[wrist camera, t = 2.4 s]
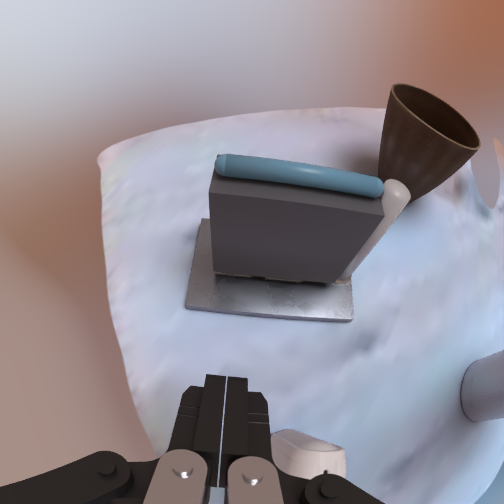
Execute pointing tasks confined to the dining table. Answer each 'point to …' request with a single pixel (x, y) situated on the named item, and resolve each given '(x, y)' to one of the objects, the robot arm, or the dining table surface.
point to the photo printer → (306, 455)
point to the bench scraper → (296, 218)
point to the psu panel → (263, 291)
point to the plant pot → (423, 140)
